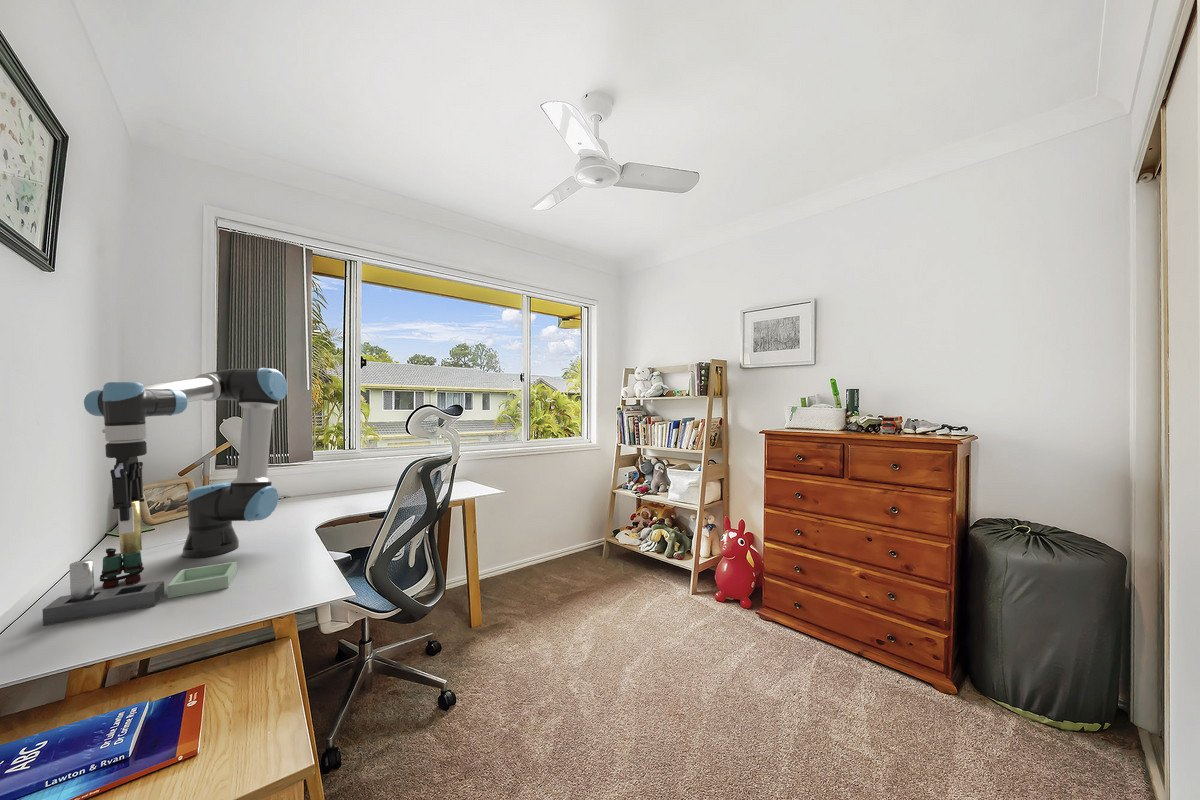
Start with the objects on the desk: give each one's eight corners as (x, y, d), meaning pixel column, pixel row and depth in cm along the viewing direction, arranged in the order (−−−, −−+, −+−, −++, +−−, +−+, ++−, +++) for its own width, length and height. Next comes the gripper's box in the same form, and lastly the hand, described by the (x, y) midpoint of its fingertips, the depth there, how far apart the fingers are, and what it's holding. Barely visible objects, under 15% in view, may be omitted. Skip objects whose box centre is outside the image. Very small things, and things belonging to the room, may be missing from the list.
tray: (181, 581, 138) (181, 569, 138) (236, 572, 144) (236, 561, 144) (167, 598, 127) (167, 585, 127) (228, 587, 133) (228, 575, 133)
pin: (76, 612, 119) (74, 561, 119) (98, 608, 121) (96, 558, 121) (68, 618, 116) (66, 566, 115) (90, 614, 118) (88, 563, 117)
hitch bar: (60, 612, 119) (59, 596, 119) (164, 594, 129) (164, 580, 129) (43, 625, 112) (42, 609, 112) (154, 606, 122) (154, 590, 122)
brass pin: (123, 550, 123) (121, 501, 123) (144, 547, 125) (142, 499, 125) (117, 555, 120) (115, 505, 120) (138, 552, 122) (136, 502, 121)
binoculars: (98, 559, 129) (100, 547, 136) (99, 596, 130) (101, 582, 137) (143, 551, 135) (143, 540, 143) (144, 586, 136) (144, 573, 144)
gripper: (119, 438, 127) (123, 524, 128) (90, 445, 112) (95, 542, 113) (156, 437, 131) (160, 519, 132) (133, 443, 116) (137, 536, 117)
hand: (130, 530), depth 123 cm, fingers closed on brass pin, 4 cm apart
